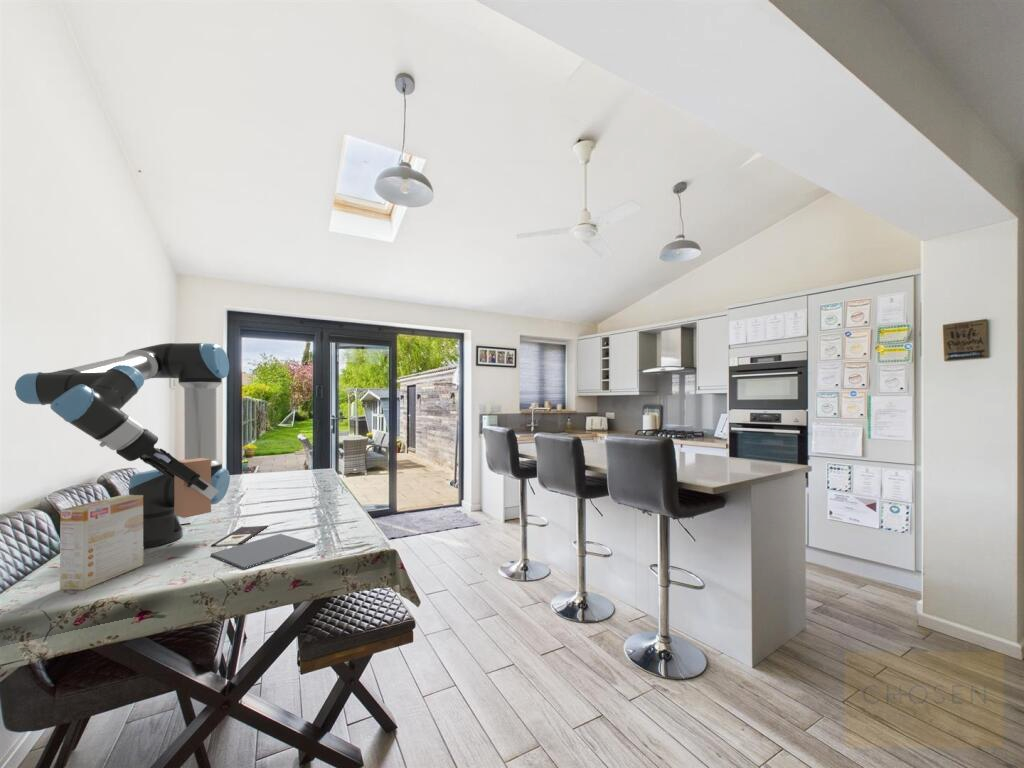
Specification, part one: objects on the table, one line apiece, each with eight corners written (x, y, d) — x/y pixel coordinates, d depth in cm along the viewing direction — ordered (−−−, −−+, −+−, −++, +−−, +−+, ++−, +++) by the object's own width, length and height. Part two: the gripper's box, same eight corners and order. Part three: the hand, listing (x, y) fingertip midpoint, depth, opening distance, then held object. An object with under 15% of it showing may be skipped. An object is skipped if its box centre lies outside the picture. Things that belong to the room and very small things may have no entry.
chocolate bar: (268, 525, 147) (242, 542, 130) (268, 528, 147) (242, 545, 130) (241, 527, 146) (211, 545, 128) (241, 530, 146) (211, 548, 128)
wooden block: (174, 514, 108) (174, 461, 109) (201, 509, 113) (201, 457, 114) (183, 518, 105) (183, 462, 105) (211, 512, 110) (210, 459, 110)
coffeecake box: (121, 565, 115) (122, 494, 116) (144, 565, 115) (145, 494, 115) (57, 589, 100) (58, 508, 101) (83, 590, 100) (84, 508, 100)
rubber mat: (210, 555, 121) (210, 553, 121) (280, 535, 138) (280, 533, 138) (244, 569, 110) (244, 567, 110) (315, 545, 127) (315, 543, 127)
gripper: (102, 449, 102) (182, 501, 115) (128, 454, 92) (213, 510, 105) (130, 426, 107) (204, 479, 120) (158, 428, 96) (236, 485, 110)
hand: (208, 493), depth 112 cm, fingers closed on wooden block, 6 cm apart
